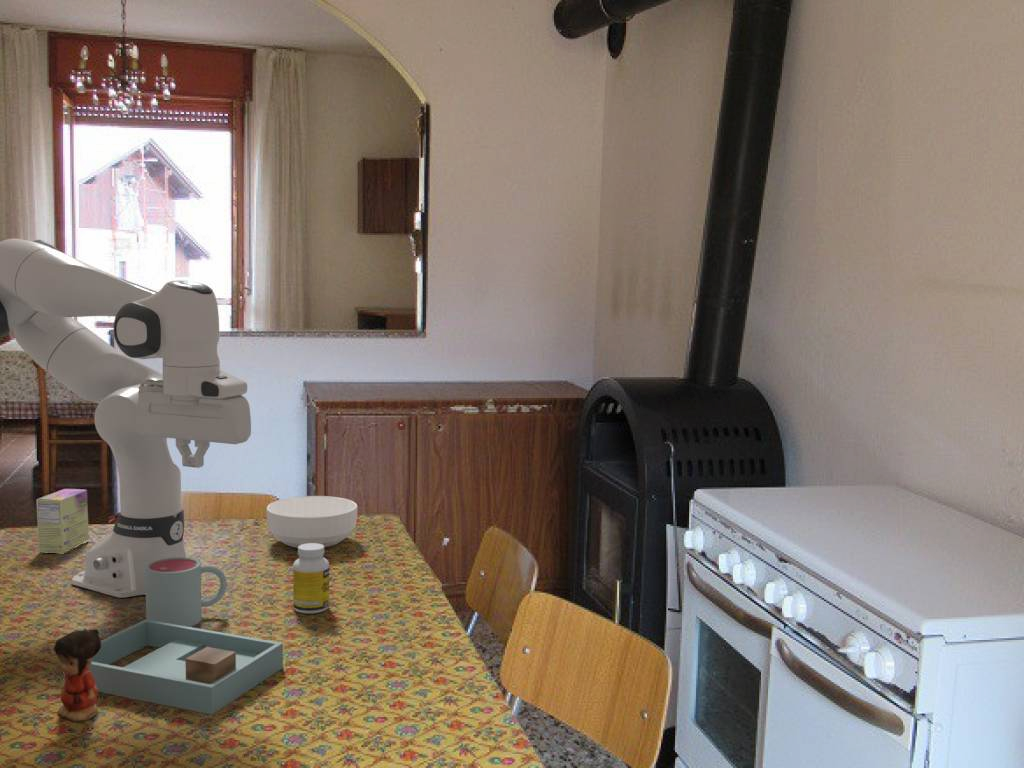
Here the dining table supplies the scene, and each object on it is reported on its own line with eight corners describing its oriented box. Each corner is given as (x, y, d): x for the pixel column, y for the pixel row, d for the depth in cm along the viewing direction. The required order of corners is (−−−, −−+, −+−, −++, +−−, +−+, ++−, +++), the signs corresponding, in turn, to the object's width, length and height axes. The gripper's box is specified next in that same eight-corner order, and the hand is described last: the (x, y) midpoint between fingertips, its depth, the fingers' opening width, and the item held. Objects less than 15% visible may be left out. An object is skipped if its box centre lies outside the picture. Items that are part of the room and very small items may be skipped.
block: (185, 685, 149) (185, 658, 149) (207, 672, 154) (207, 646, 153) (215, 691, 148) (214, 664, 147) (235, 678, 152) (235, 651, 152)
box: (65, 540, 228) (63, 487, 226) (89, 542, 227) (87, 489, 226) (37, 553, 218) (35, 498, 216) (62, 555, 217) (60, 500, 215)
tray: (64, 684, 153) (63, 658, 153) (146, 642, 170) (145, 619, 170) (211, 714, 145) (211, 687, 144) (283, 667, 161) (282, 643, 161)
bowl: (348, 557, 220) (349, 518, 219) (256, 555, 220) (256, 516, 219) (363, 532, 240) (363, 496, 239) (278, 530, 240) (278, 494, 239)
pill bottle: (321, 616, 184) (321, 553, 183) (287, 613, 186) (286, 550, 184) (334, 604, 191) (334, 543, 189) (301, 601, 192) (301, 540, 190)
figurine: (65, 703, 147) (62, 622, 146) (105, 703, 148) (103, 622, 146) (49, 723, 141) (46, 639, 139) (91, 723, 141) (89, 638, 140)
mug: (150, 633, 174) (149, 575, 173) (142, 615, 183) (141, 560, 181) (233, 621, 181) (232, 566, 180) (221, 605, 189) (221, 551, 188)
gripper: (125, 380, 168) (127, 464, 170) (232, 388, 161) (233, 475, 163) (151, 376, 174) (153, 457, 176) (256, 384, 167) (256, 468, 169)
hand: (193, 466), depth 169 cm, fingers closed
